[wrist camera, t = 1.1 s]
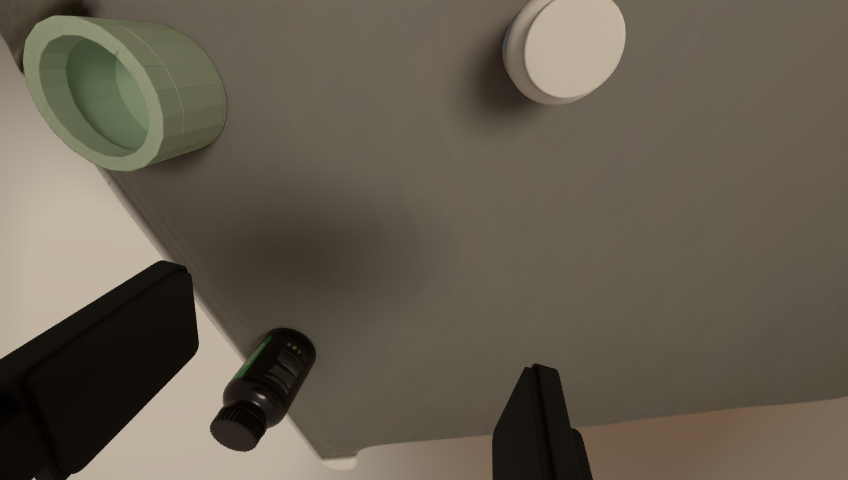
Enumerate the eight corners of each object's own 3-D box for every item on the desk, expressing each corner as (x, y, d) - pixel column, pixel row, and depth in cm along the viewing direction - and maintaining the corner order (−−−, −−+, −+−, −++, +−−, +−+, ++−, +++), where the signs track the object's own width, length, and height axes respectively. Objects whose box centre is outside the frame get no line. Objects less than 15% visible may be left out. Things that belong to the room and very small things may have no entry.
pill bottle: (566, -19, 25) (618, -66, 15) (598, 64, 27) (662, 71, 17) (487, 33, 27) (487, 21, 17) (521, 107, 29) (540, 135, 19)
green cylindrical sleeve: (112, 3, 30) (9, -11, 24) (232, 51, 31) (162, 51, 24) (120, 125, 35) (36, 141, 29) (222, 165, 36) (163, 190, 29)
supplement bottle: (259, 324, 45) (189, 408, 34) (312, 328, 44) (256, 416, 33) (272, 365, 48) (211, 454, 37) (321, 370, 47) (273, 462, 36)
